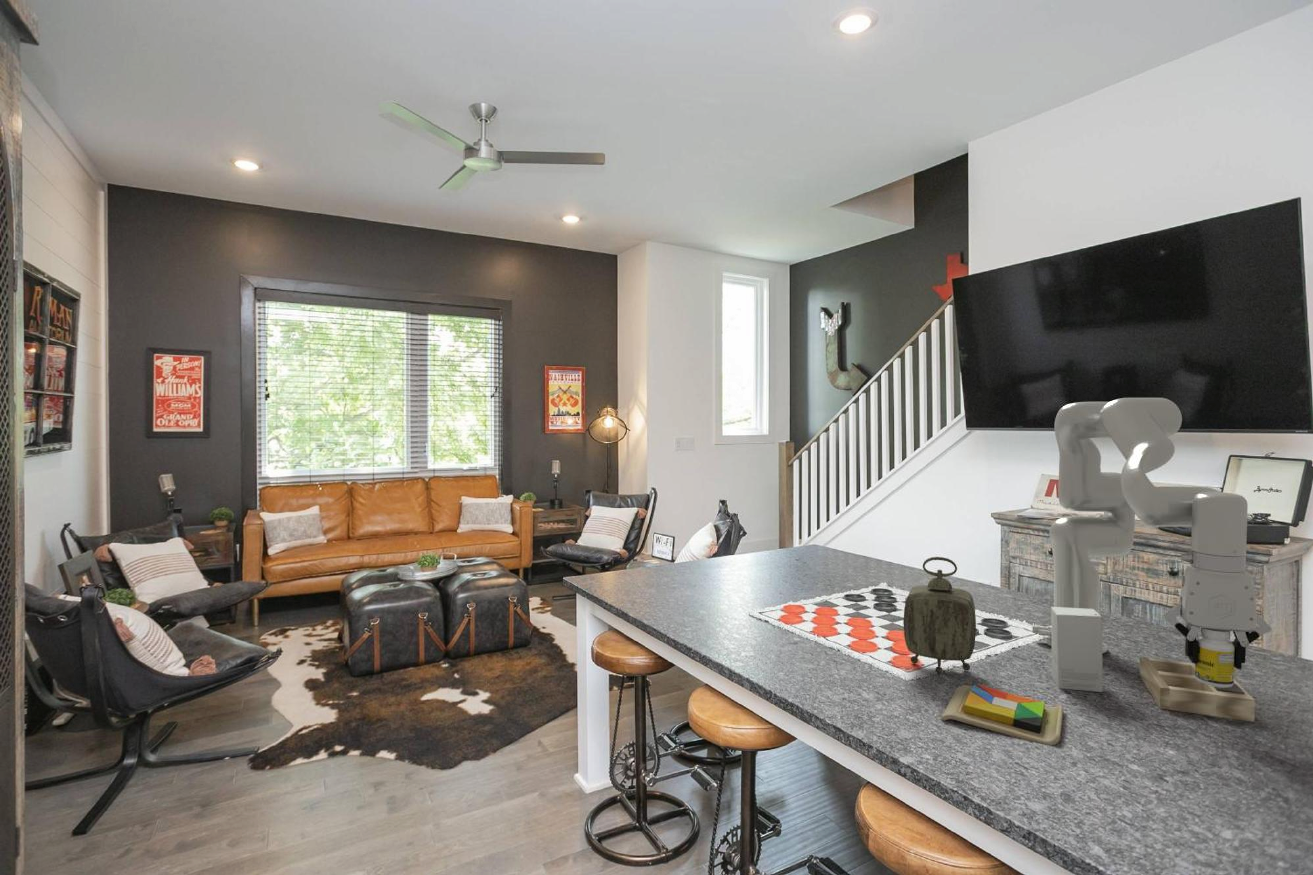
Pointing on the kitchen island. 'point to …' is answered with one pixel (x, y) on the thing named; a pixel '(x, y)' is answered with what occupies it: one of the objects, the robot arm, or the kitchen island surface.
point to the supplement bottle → (1215, 658)
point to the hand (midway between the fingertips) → (1214, 662)
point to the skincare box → (1077, 649)
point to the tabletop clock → (940, 620)
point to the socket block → (1193, 691)
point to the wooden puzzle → (1005, 713)
